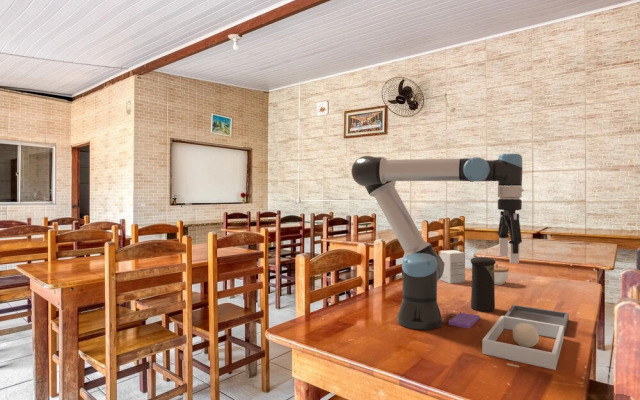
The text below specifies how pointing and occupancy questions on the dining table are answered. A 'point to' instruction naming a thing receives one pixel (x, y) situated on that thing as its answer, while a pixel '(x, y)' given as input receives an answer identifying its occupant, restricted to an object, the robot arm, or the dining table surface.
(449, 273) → the supplement box
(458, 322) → the sponges
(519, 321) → the light grey rectangular frame
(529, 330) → the cream round ball
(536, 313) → the slate tray
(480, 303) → the container
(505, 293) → the dining table surface
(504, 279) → the lidded jar
